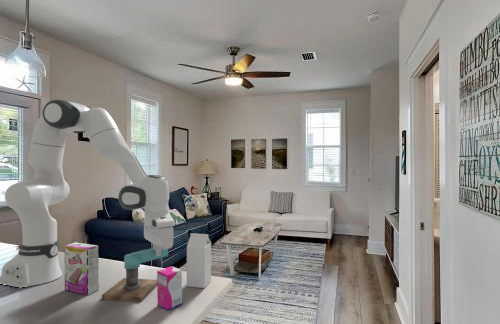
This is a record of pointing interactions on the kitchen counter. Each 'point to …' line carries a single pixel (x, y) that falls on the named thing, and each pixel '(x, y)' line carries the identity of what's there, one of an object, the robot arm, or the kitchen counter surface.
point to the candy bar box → (81, 268)
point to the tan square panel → (130, 288)
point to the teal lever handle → (142, 257)
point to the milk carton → (198, 261)
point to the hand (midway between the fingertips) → (157, 255)
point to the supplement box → (169, 288)
